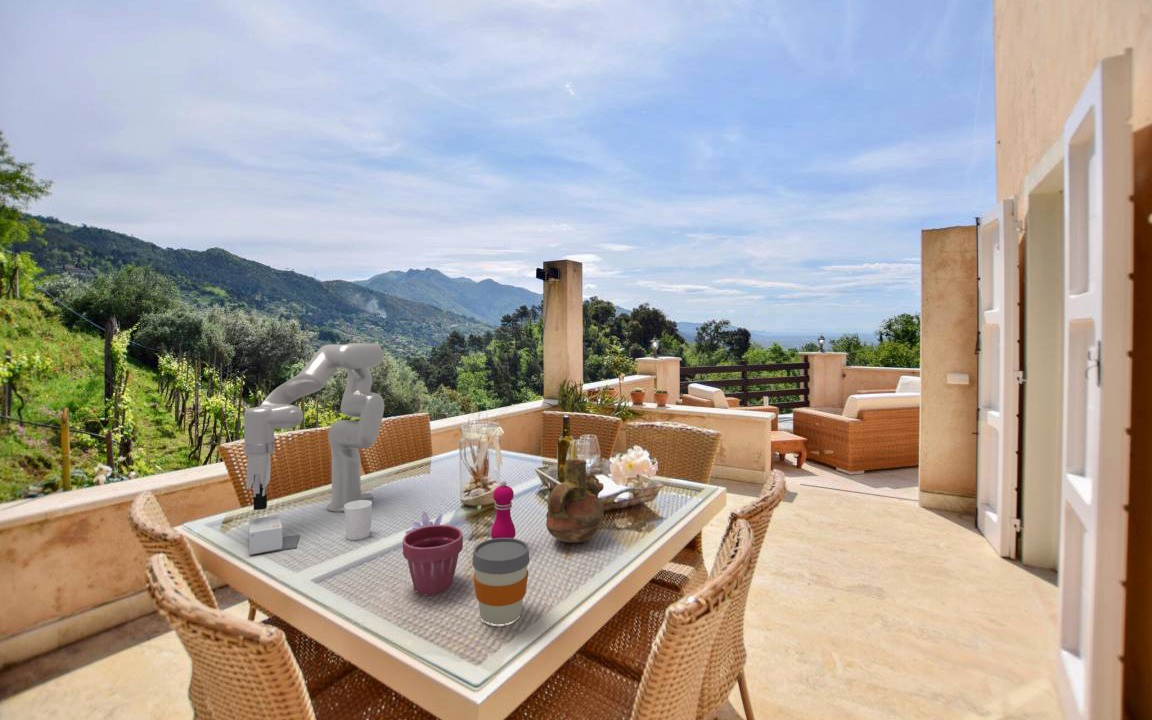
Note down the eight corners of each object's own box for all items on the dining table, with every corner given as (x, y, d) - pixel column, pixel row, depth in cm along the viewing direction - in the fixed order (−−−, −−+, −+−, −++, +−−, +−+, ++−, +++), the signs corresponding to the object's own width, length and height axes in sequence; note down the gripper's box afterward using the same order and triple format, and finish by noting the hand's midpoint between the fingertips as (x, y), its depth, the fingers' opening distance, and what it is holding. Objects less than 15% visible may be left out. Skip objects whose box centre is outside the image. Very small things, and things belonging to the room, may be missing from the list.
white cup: (377, 533, 152) (377, 502, 152) (356, 543, 145) (356, 510, 145) (359, 529, 156) (359, 498, 155) (338, 538, 149) (338, 506, 148)
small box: (249, 539, 146) (248, 555, 135) (249, 519, 146) (248, 532, 135) (280, 534, 150) (282, 549, 139) (280, 514, 150) (282, 527, 139)
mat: (300, 535, 150) (300, 534, 150) (296, 548, 141) (296, 547, 141) (258, 541, 146) (258, 540, 146) (251, 554, 136) (251, 553, 136)
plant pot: (423, 608, 110) (423, 552, 110) (391, 587, 119) (391, 536, 119) (474, 584, 121) (474, 534, 120) (441, 567, 130) (441, 520, 130)
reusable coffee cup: (488, 596, 115) (488, 534, 115) (537, 605, 112) (538, 541, 111) (461, 625, 103) (461, 556, 103) (515, 636, 100) (515, 565, 99)
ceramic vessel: (621, 531, 156) (623, 454, 155) (575, 560, 135) (576, 471, 134) (578, 520, 166) (579, 447, 165) (528, 545, 145) (529, 462, 144)
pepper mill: (519, 545, 145) (520, 478, 144) (508, 554, 138) (508, 485, 137) (498, 541, 147) (498, 476, 147) (486, 551, 140) (486, 482, 140)
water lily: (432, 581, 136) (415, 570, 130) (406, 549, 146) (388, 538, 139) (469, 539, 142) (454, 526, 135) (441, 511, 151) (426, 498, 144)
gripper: (249, 444, 151) (250, 502, 152) (239, 454, 137) (240, 518, 138) (277, 442, 154) (278, 499, 155) (270, 452, 140) (270, 515, 141)
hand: (260, 508), depth 146 cm, fingers closed
